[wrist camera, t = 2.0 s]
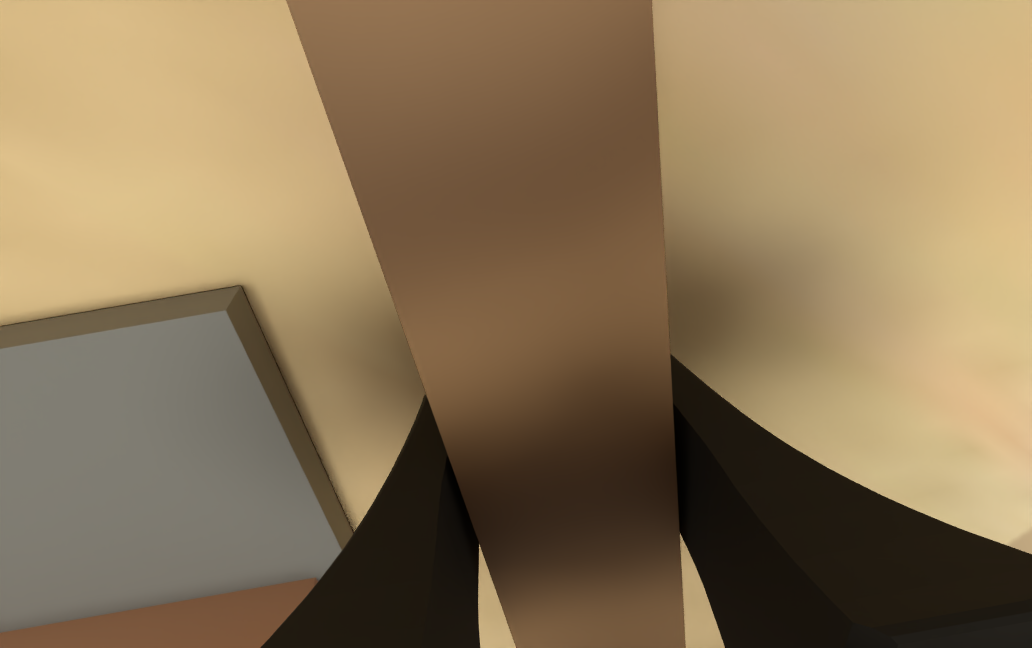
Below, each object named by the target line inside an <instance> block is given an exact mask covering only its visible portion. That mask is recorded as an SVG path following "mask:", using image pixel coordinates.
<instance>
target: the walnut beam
mask: <svg viewBox="0 0 1032 648" xmlns="http://www.w3.org/2000/svg"><path fill="white" fill-rule="evenodd" d="M286 1H287V4H288V7H289V9H290V12H291V15H292V18H293V21H294V23H295V26H296V29H297V32H298V35H299V38H300V40H301V43H302V46H303V49H304V52H305V54H306V57H307V60H308V63H309V66H310V69H311V71H312V74H313V77H314V80H315V83H316V85H317V88H318V91H319V94H320V97H321V99H322V102H323V105H324V108H325V111H326V114H327V116H328V119H329V122H330V125H331V128H332V130H333V133H334V136H335V139H336V142H337V144H338V147H339V150H340V153H341V156H342V159H343V161H344V164H345V167H346V170H347V173H348V175H349V178H350V181H351V184H352V187H353V190H354V192H355V195H356V198H357V201H358V204H359V206H360V209H361V212H362V215H363V218H364V220H365V223H366V226H367V229H368V232H369V235H370V237H371V240H372V243H373V246H374V249H375V251H376V254H377V257H378V260H379V263H380V265H381V268H382V271H383V274H384V277H385V280H386V282H387V285H388V288H389V291H390V294H391V296H392V299H393V302H394V305H395V308H396V310H397V313H398V316H399V319H400V322H401V325H402V327H403V330H404V333H405V336H406V339H407V341H408V344H409V347H410V350H411V353H412V356H413V358H414V361H415V364H416V367H417V370H418V372H419V375H420V378H421V381H422V384H423V386H424V389H425V392H426V395H427V398H428V401H429V403H430V406H431V409H432V412H433V415H434V417H435V420H436V423H437V426H438V429H439V431H440V434H441V437H442V440H443V443H444V446H445V448H446V451H447V454H448V457H449V460H450V462H451V465H452V468H453V471H454V474H455V476H456V479H457V482H458V485H459V488H460V491H461V493H462V496H463V499H464V502H465V505H466V507H467V510H468V513H469V516H470V519H471V522H472V524H473V527H474V530H475V533H476V536H477V538H478V541H479V544H480V547H481V550H482V552H483V555H484V558H485V561H486V564H487V567H488V569H489V572H490V575H491V578H492V581H493V583H494V586H495V589H496V592H497V595H498V597H499V600H500V603H501V606H502V609H503V612H504V614H505V617H506V620H507V623H508V626H509V628H510V631H511V634H512V637H513V640H514V642H515V645H516V648H686V646H685V627H684V608H683V589H682V569H681V550H680V531H679V512H678V493H677V474H676V454H675V435H674V416H673V397H672V378H671V359H670V340H669V320H668V301H667V282H666V263H665V244H664V225H663V206H662V186H661V167H660V148H659V129H658V110H657V91H656V71H655V52H654V33H653V14H652V0H286Z"/></svg>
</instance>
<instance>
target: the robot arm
mask: <svg viewBox="0 0 1032 648" xmlns="http://www.w3.org/2000/svg"><path fill="white" fill-rule="evenodd" d="M670 359H671V378H672V397H673V416H674V435H675V454H676V474H677V493H678V512H679V531H680V533H681V535H682V538H683V540H684V542H685V544H686V546H687V548H688V551H689V553H690V555H691V557H692V559H693V561H694V564H695V566H696V568H697V571H698V573H699V576H700V578H701V580H702V583H703V585H704V588H705V591H706V594H707V597H708V599H709V602H710V605H711V608H712V611H713V614H714V617H715V620H716V622H717V625H718V628H719V631H720V634H721V637H722V640H723V643H724V646H725V648H1032V554H1029V553H1026V552H1023V551H1021V550H1018V549H1015V548H1012V547H1009V546H1007V545H1004V544H1001V543H998V542H995V541H993V540H990V539H987V538H984V537H981V536H979V535H976V534H973V533H970V532H967V531H965V530H962V529H959V528H957V527H954V526H952V525H949V524H947V523H944V522H942V521H940V520H937V519H935V518H932V517H930V516H928V515H925V514H923V513H920V512H918V511H915V510H913V509H911V508H908V507H906V506H904V505H902V504H900V503H897V502H895V501H893V500H891V499H889V498H886V497H884V496H882V495H880V494H878V493H876V492H874V491H872V490H870V489H868V488H866V487H864V486H862V485H860V484H858V483H856V482H854V481H852V480H850V479H848V478H846V477H844V476H842V475H840V474H838V473H836V472H834V471H833V470H831V469H829V468H827V467H825V466H823V465H822V464H820V463H818V462H817V461H815V460H813V459H811V458H810V457H808V456H806V455H805V454H803V453H801V452H800V451H798V450H796V449H794V448H793V447H791V446H790V445H788V444H786V443H785V442H783V441H782V440H780V439H779V438H777V437H776V436H774V435H773V434H771V433H770V432H768V431H767V430H765V429H764V428H763V427H761V426H760V425H758V424H757V423H755V422H754V421H753V420H751V419H750V418H749V417H747V416H746V415H744V414H743V413H742V412H740V411H739V410H738V409H737V408H735V407H734V406H733V405H731V404H730V403H729V402H728V401H726V400H725V399H724V398H722V397H721V396H720V395H719V394H717V393H716V392H715V391H714V390H712V389H711V388H710V387H709V386H708V385H706V384H705V383H704V382H703V381H702V380H700V379H699V378H698V377H697V376H696V375H694V374H693V373H692V372H691V371H690V370H689V369H687V368H686V367H685V366H684V365H683V364H682V363H681V362H679V361H678V360H677V359H676V358H675V357H674V356H672V355H671V354H670ZM478 573H479V541H478V538H477V536H476V533H475V530H474V527H473V524H472V522H471V519H470V516H469V513H468V510H467V507H466V505H465V502H464V499H463V496H462V493H461V491H460V488H459V485H458V482H457V479H456V476H455V474H454V471H453V468H452V465H451V462H450V460H449V457H448V454H447V451H446V448H445V446H444V443H443V440H442V437H441V434H440V431H439V429H438V426H437V423H436V420H435V417H434V415H433V412H432V409H431V406H430V403H429V401H428V398H427V395H426V394H425V396H424V398H423V401H422V404H421V406H420V409H419V412H418V414H417V417H416V419H415V421H414V424H413V426H412V428H411V431H410V433H409V435H408V437H407V440H406V442H405V444H404V446H403V448H402V450H401V452H400V454H399V456H398V458H397V460H396V462H395V464H394V466H393V468H392V470H391V472H390V474H389V476H388V477H387V479H386V481H385V483H384V485H383V486H382V488H381V490H380V492H379V493H378V495H377V497H376V499H375V500H374V502H373V504H372V506H371V507H370V509H369V510H368V512H367V514H366V515H365V517H364V518H363V520H362V522H361V523H360V525H359V526H358V528H357V529H356V531H355V532H354V534H353V535H352V537H351V538H350V539H349V541H348V542H347V544H346V545H345V547H344V548H343V550H342V551H341V552H340V554H339V555H338V556H337V558H336V559H335V560H334V562H333V563H332V564H331V565H330V567H329V568H328V569H327V571H326V572H325V573H324V575H323V576H322V577H321V579H320V580H319V581H318V582H317V584H316V585H315V586H314V587H313V589H312V590H311V591H310V592H309V594H308V595H307V596H306V597H305V598H304V599H303V601H302V602H301V603H300V604H299V605H298V606H297V607H296V608H295V610H294V611H293V612H292V613H291V614H290V615H289V616H288V617H287V619H286V620H285V621H284V622H283V623H282V624H281V625H280V627H279V628H278V629H277V630H276V631H275V632H274V633H273V634H272V636H271V637H270V638H269V639H268V640H267V641H266V642H265V643H264V644H263V645H262V646H261V647H260V648H480V638H479V624H478Z"/></svg>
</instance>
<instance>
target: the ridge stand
mask: <svg viewBox="0 0 1032 648" xmlns="http://www.w3.org/2000/svg"><path fill="white" fill-rule="evenodd" d="M352 535H353V531H352V529H351V527H350V525H349V523H348V520H347V518H346V516H345V514H344V512H343V509H342V507H341V505H340V503H339V501H338V498H337V496H336V494H335V492H334V490H333V487H332V485H331V483H330V481H329V479H328V476H327V474H326V472H325V470H324V468H323V465H322V463H321V461H320V459H319V457H318V454H317V452H316V450H315V448H314V446H313V443H312V441H311V439H310V437H309V435H308V432H307V430H306V428H305V426H304V424H303V422H302V419H301V417H300V415H299V413H298V411H297V408H296V406H295V404H294V402H293V400H292V397H291V395H290V393H289V391H288V389H287V386H286V384H285V382H284V380H283V378H282V375H281V373H280V371H279V369H278V367H277V364H276V362H275V360H274V358H273V356H272V353H271V351H270V349H269V347H268V345H267V342H266V340H265V338H264V336H263V334H262V331H261V329H260V327H259V325H258V323H257V320H256V318H255V316H254V314H253V312H252V309H251V307H250V305H249V303H248V301H247V298H246V296H245V294H244V292H243V290H242V287H241V286H236V287H231V288H225V289H219V290H213V291H207V292H201V293H195V294H190V295H184V296H178V297H172V298H166V299H160V300H154V301H148V302H143V303H137V304H131V305H125V306H119V307H113V308H107V309H102V310H96V311H90V312H84V313H78V314H72V315H66V316H60V317H55V318H49V319H43V320H37V321H31V322H25V323H19V324H14V325H8V326H2V327H0V648H260V647H261V646H262V645H263V644H264V643H265V642H266V641H267V640H268V639H269V638H270V637H271V636H272V634H273V633H274V632H275V631H276V630H277V629H278V628H279V627H280V625H281V624H282V623H283V622H284V621H285V620H286V619H287V617H288V616H289V615H290V614H291V613H292V612H293V611H294V610H295V608H296V607H297V606H298V605H299V604H300V603H301V602H302V601H303V599H304V598H305V597H306V596H307V595H308V594H309V592H310V591H311V590H312V589H313V587H314V586H315V585H316V584H317V582H318V581H319V580H320V579H321V577H322V576H323V575H324V573H325V572H326V571H327V569H328V568H329V567H330V565H331V564H332V563H333V562H334V560H335V559H336V558H337V556H338V555H339V554H340V552H341V551H342V550H343V548H344V547H345V545H346V544H347V542H348V541H349V539H350V538H351V537H352Z"/></svg>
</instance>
